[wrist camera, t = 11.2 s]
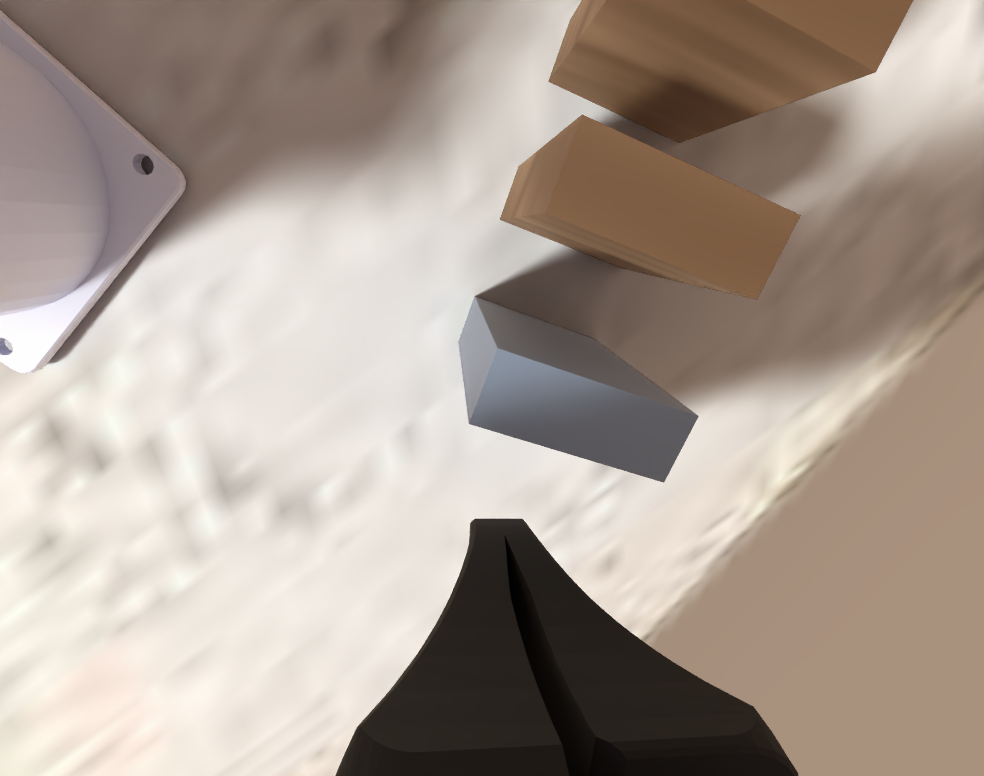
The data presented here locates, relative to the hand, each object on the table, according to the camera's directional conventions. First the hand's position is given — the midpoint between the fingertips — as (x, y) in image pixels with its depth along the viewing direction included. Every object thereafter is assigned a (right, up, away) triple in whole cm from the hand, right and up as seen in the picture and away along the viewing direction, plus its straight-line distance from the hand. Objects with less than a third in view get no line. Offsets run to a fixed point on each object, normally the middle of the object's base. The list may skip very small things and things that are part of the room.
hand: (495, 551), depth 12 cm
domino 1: (+4, +13, +2) cm, 14 cm away
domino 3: (+1, +6, +4) cm, 7 cm away
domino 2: (+2, +9, +3) cm, 10 cm away
